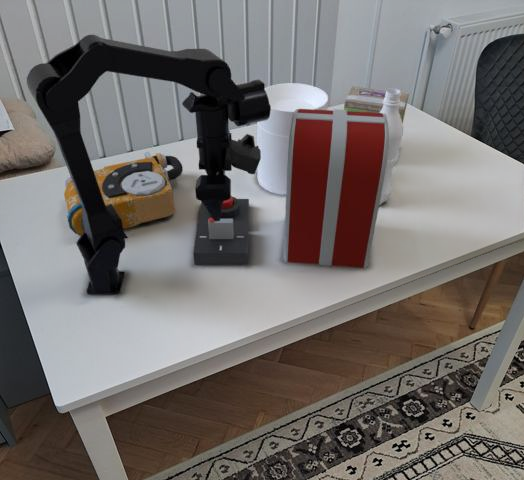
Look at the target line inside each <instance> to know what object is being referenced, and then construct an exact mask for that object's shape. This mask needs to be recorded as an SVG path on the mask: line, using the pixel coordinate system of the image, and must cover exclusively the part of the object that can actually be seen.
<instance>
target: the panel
mask: <svg viewBox="0 0 524 480" xmlns="http://www.w3.org/2000/svg"><path fill="white" fill-rule="evenodd" d="M195 231H196V232H195V239H194V246H193V252H192V255H193V262H194V263H193V264H194V265H195V266H248V265H249V231H248V223H233V231H234V238H233V239H209V227H208V223H198V222H197V224H196V230H195Z"/></svg>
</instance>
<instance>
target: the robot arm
mask: <svg viewBox="0 0 524 480" xmlns="http://www.w3.org/2000/svg"><path fill="white" fill-rule="evenodd" d="M231 71H232V70H231V68H230V66H229V64H228V63H227V62H226V61H225V60H224V59H222V58H221V57H219V56H218V55H216V54H215V53H214V52H212V51H211V50H209V49H208V48H185V49H181V50H171V51H170V50H166V49H162V48H161V49H160V48H156V47H150V46H145V45H140V44H135V43H130V42H124V41H119V40H113V39H109V38H103V37H100V36H98V35H96V34H87V35H85V36H83V37H82V38H81V39H80V40H79V41H78V42H76V44H74V45H71V46H70V47H69V48H66V49H64V50H62V51H60V52H59V53H57V54H55V55H54V56H52V58H51V59H49V60H48V61H47V62H44V63H39V64H36V65H34V66H33V67H32V68H31V69H30V70H29V72H28V74H27V76H26V85H27V89H28V91H29V93H30V94H31V96H32V98H33V99H34V101H35V103H36V104H37V106H38V108H39V110H40V111H41V113H42V115H43V116H44V118H45V120H46V121H47V124H48V125H49V127H50V128H51V130H52V131H53V134H54V137H55V140H56V141H57V144H58V146H59V150H60V151H61V152H60V153H61V155H62V157H63V160H64V162H65V165H66V167H67V168H66V169H67V171H68V173H69V176H70V177H71V178H72V181H73V184H74V186H75V189H76V192H77V194H78V197H79V199H80V202H81V205H82V218H83V224H84V230H85V231H84V232H83V233H82V235H81V236H80V235H79V238H78V239H77V241H76V242H75V244H76V246H77V248H78V250H79V252H80V254H81V256H82V259H83V262H84V265H85V269H86V272H87V276H88V278H89V282H88V285H87V288H86V291H85V292H86V294H87V295H120V294H121V291H122V287H123V284H124V280H125V277H126V271H123V270H121V271H120V270H119V264H120V263H119V262H120V258H121V254H122V252H123V251H124V250H125V249H126V240H127V239H129V237H128V235H127V234H126V232H125V230H124V228H123V224H122V220H121V218H120V216H119V215H118V213H117V211H116V210H115V208H114V207H113V205H112V204H110V205H108V206H105V203H104V200H103V197H102V194H101V191H100V188H99V185H98V182H97V179H96V176H95V173H94V171H95V170H94V168H93V166H92V162H91V159H90V156H89V153H88V150H87V148H86V145H85V142H84V138H83V136H82V132H81V129H82V128H81V111H80V105H79V101H81V100H82V99H83V98H84V97H86V96H87V95H88V94H89V92H90V91H91V90H92V89H93V87H94V86H95V84H96V83H97V81H98V80H99V79H100V77H101V76H103V75H104V74H105V73H106V72H107V73H108V72H109V73H115V74H121V75H127V76H133V77H141V78H145V79H146V78H147V79H151V80H152V79H153V80H159V81H165V82H172V83H176V84H178V85H181V86H183V87H185V88H188V89H190V90H192V91H190V92H189V95H188V96H187V97H186V98H184V100H183V101H182V103H181V104H182V106H183V107H184V108H185V109H186V110H187V111H188V112H189V113H190V114H194V115H195V127H196V134H197V135H196V136H197V137H196V149H198V157H199V158H198V170H201V171H202V170H204V171H205V173H206V174H201V175H200V176H199V177H197V179H196V181H195V189H194V191H195V199H196V200H198V201H200V203H201V202H202V203H203V205H204V206H205V207H206V209H207V210H208V212H209V214H210V215H211V217H212V218H213V220H214V221H220V217H221V211H222V205H223V202H224V201H226V200H229V199H231V196H232V179H231V178H230V177H228V176H227V174H226V172H232V171H233V170H232V169H233V168H235V169H238V170H240V171H244V172H246V173H247V174H250V175H255V174H256V173H257V171H258V164H259V162H260V159H261V151H260V149H259V146H257V145H256V143H255V137H254V136H253V135H252V134H249V133H246V134H245V135H244V136H243V137H242V138H241V139H240V138H238V139H237V140H235V139H232V132H231V130H230V124H229V122H232V123H234V125H235V126H236V127H242V126H246V125H252V124H255V123H257V122H260V121H265V120H268V119H269V117H270V112H271V106H270V104H269V100H268V96H267V93H266V91H265V88H266V87H265V86H266V85H265V83H264V82H263V81H262V80H261V79H254V80H251V81H248V82H244V83H240V84H236V82H234V80H233V79H232V72H231ZM194 92H196V93H199V94H200V95H197V94H195V93H194Z"/></svg>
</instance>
